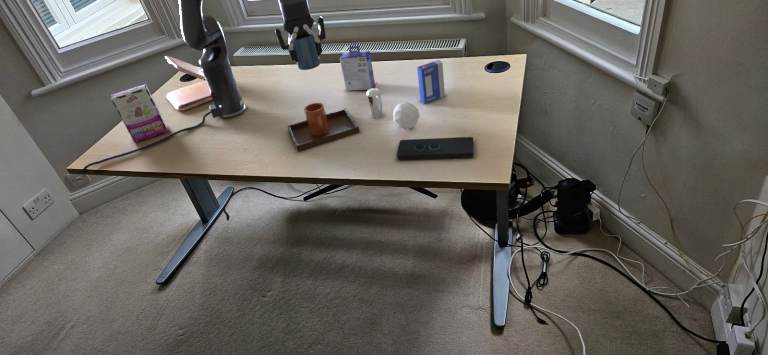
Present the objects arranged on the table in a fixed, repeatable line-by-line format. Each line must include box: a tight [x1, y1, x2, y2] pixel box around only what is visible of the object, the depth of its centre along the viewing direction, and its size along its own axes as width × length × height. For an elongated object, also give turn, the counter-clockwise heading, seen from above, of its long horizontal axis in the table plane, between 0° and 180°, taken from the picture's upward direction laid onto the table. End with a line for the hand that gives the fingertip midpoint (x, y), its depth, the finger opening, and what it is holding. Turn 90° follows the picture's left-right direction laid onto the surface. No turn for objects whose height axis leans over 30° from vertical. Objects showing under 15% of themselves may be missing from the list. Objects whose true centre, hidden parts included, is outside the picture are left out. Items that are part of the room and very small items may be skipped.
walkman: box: [416, 59, 446, 105], centre depth 148 cm, size 8×3×12 cm, turn 116°
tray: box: [287, 108, 361, 153], centre depth 143 cm, size 19×14×2 cm
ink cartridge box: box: [339, 45, 376, 92], centre depth 163 cm, size 10×6×14 cm, turn 78°
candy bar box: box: [110, 83, 169, 144], centre depth 155 cm, size 11×5×16 cm, turn 117°
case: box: [164, 55, 213, 112], centre depth 178 cm, size 20×21×16 cm
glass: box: [290, 34, 321, 71], centre depth 134 cm, size 6×6×9 cm
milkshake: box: [365, 81, 384, 119], centre depth 145 cm, size 5×5×10 cm
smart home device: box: [396, 136, 474, 161], centre depth 126 cm, size 8×2×20 cm
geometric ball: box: [392, 101, 420, 130], centre depth 137 cm, size 8×8×8 cm
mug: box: [303, 102, 329, 136], centre depth 140 cm, size 8×6×8 cm
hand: (307, 58), depth 135 cm, fingers closed on glass, 6 cm apart
